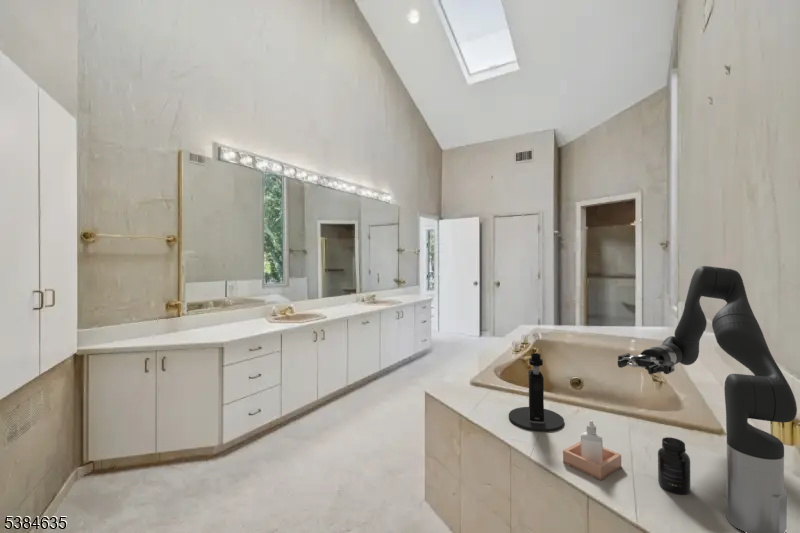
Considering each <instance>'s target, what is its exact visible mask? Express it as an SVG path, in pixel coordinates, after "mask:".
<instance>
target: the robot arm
mask: <svg viewBox="0 0 800 533" xmlns="http://www.w3.org/2000/svg"><path fill="white" fill-rule="evenodd" d="M746 291H747V290H746V288H745V283H744V280H743V278H742V276H741V274H740V273H739V272H738V271H737V270H736V269H732V268H725V267H717V266H711V265H710V266H709V265H708V266H707V265H702V266H698V267H697V268H696V269H695V271H694V272H693V275H692V277H691V280H690V282H689V287H688V291H687V295H686V298H685V302H684V308H683V311H682V315H681V317H680V319H679V322H678V324H677V325H676V328H675V330H674V336H673V335H671V336H668V337H666V338H665V339H664V340H663V342H662V344H661V345H656V346H652V347H649V348H645V349H644V350H642V352H640V354H638V355H631V353H624V354H619V355H618V356H617V366H618V368H621V369H622V368H624V367H627V366H629V367H631V368H641V369H645V370H647V372H648V375H654V374H661V373H663V374H665V375H670V374H671V373H672V372H674V371H675V365H677V364H679V363H680V364H681V365H684V366H691V365H693V364H694V363H695V362H696V361H697V359H698V358H699V356H700V355H699V353H700V340H701V338H702V337H703V334H704V332H705V331H706V329H707V317H706V316H705V313H704V311H703V308H702V306H701V302H700V301H701V300H700V299H701V298H702V297H705V298H711V299H718V300H723V301H725V302H726V304H725V305H724V306H723V307H722V308H720V309H719V310H718V311H717V312H716V313H715V315H713V318H712V320H711V326H712V327H711V328H712V331H713V333H714V337H715V340H716V343H717V345H718V346H719V347H720V349H722V350H723V351H724V352H725V353H726V354H727V355H729V356H730V357H731V358H732V359H735V360H736V361H737V362H738V363H739V364H740V365H743V366H744V367H745V368H747V369H748V370H749V371H750V372H751V373H752V374H753V375H752V374H742V373H730V374H728V375H727V376H726V378H725V381H724V403H725V419H726V420H725V422H726V424H725V425H726V426H725V427H726V431H725V432H726V498H725V499H726V507H725V510H726V511H725V512H726V519H727V521H728V522H729V523H730V524H731V525H732V526H733V525H734V526H735V527H734V526H733V527H734V528H736V529H737V528H738V529H737V530H739V529H740V530H739V531H741V530H742V531H744V532H747V533H784V532H785V530H786V529H788V527H787V525H788V524H787V520H788V518H787V517H788V509H787V508H788V507H787V506H788V490H787V488H786V487H785V445H784V443H783V442H782V440H781V439H780V438H778V437H776V436H775V435H773V434H771V433H769V432H766V431H765V430H762V429H759V428H758V427H755V426H753V425H752V424H750V423H748V420H749V419H751V420H759V421H763V422H764V421H765V422H774V423H790V422H792V421H794V420H795V419H796V418H797V413H798V406H797V401H796V398H795V394H794V392H793V390H792V388H791V386H790V384H789V382H788V381H787V379H786V377H785V375H784V374H783V372H782V370H781V368H780V367H779V365H778V364H777V362H776V361H775V358H774V357H773V354H772V353H771V351H770V348H769V346H768V343H767V341H766V338H765V336H764V334H763V330H762V329H761V326H760V324H759V322H758V321H757V318H756V316H755V314H754V311H753V308H752V306H751V304H750V301H749V298H748V295H747V292H746ZM742 531H741V532H742ZM744 532H743V533H744Z"/></svg>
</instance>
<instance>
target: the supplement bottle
mask: <svg viewBox="0 0 800 533" xmlns="http://www.w3.org/2000/svg"><path fill="white" fill-rule="evenodd" d="M686 450H687V449H686V443H685V442H684V441H683V440H681V439H678V438H675V437H671V436H669V437H667V436H666V437H663V438H662V440H661V447H660V448H659V449H658V451H657V478H658V479H657V480H658V484H659V486H660V487H661V488H662V489H664V490H666V491H667V492H670V493H671V494H676V495H687V494H689V493H690V492H691V489H692V488H691V486H692V485H691V483H692V482H691V481H692V480H691V458H690V456H689V455H688V453H687V452H686Z"/></svg>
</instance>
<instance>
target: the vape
mask: <svg viewBox="0 0 800 533" xmlns="http://www.w3.org/2000/svg"><path fill="white" fill-rule="evenodd" d="M530 356H531V357H530V358H529V359H528V360H529V362H528V364H529V365H530V366H532V369H529V370H528V406H522V407H516V408H513V409H512V410H510V412H508V419H509V422H510V423H512V424H513V425H514V426H516V427H519V428H520V429H522V430H523V429H524V430H527V431H533V432H538V433H539V432H540V433H547V432H548V433H549V432H550V431H551V432H555V431H556V432H557V431H559V430H561V429H562V428H564V426H565V419H564V418H563V416H562V415H560V414H559V413H558V412H555V411H553V410H550V409H547V408H544V407H545V406H544V405H545V403H544V401H545V400H544V396H545V395H544V393H545V392H544V389H545V388H544V387H545V386H544V385H545V384H544V383H545V382H544V378H545V377H544V375H543V374H542V371H540V367H541V366H543V363H544V362H543V359H542V358H541V357H542V356H541V353H537V352H534V353H530Z"/></svg>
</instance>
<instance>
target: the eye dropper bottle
mask: <svg viewBox="0 0 800 533" xmlns="http://www.w3.org/2000/svg"><path fill="white" fill-rule="evenodd" d="M580 441H581V457H583V458H585V459H588V460H590V461H592V462H594V463H597V464H601V463H602V462H603V446H604V445H603V443H604V442H603V441H604V440H603V437H602V436H601V435H600V434H598V433H597V425H595V424H594V421H593V420H589V423H587V424H586V431H585V432H581V434H580Z"/></svg>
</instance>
